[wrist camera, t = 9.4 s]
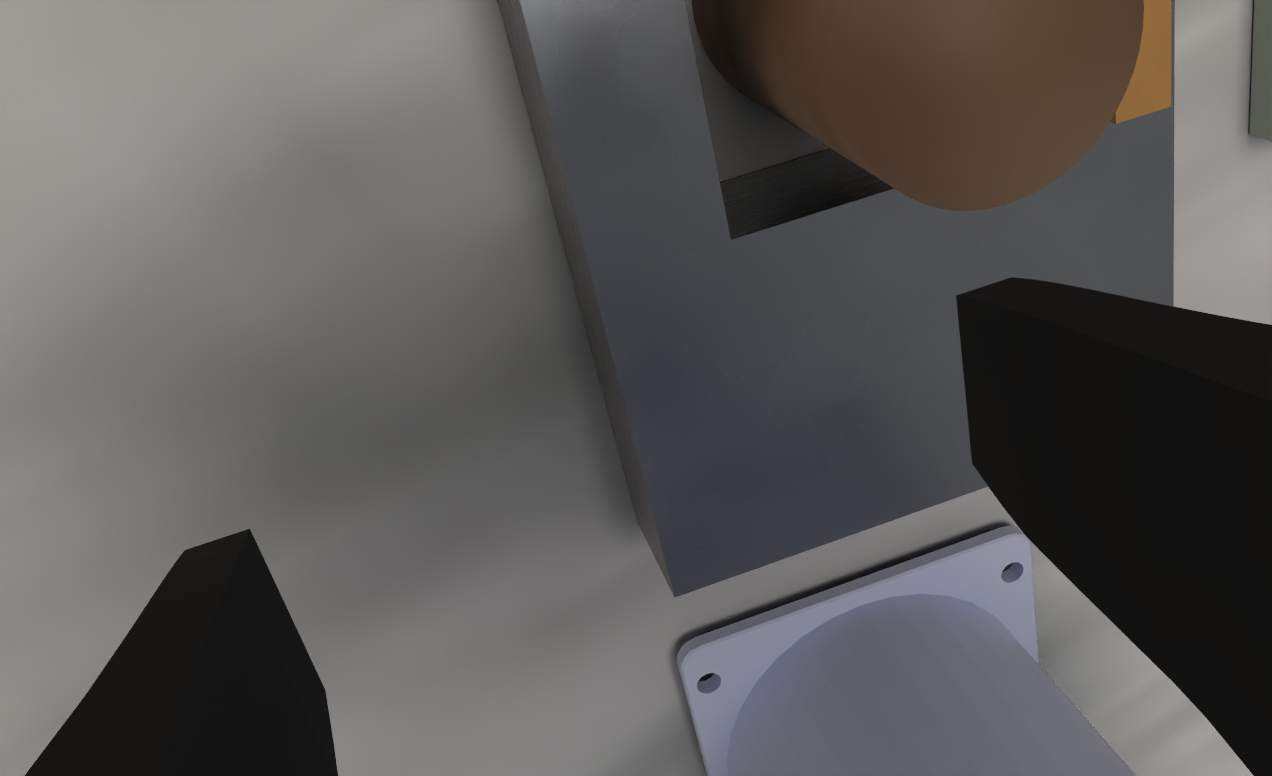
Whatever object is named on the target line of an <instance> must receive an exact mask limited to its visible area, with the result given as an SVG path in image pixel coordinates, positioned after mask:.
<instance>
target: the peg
mask: <svg viewBox="0 0 1272 776" xmlns="http://www.w3.org/2000/svg"><path fill="white" fill-rule="evenodd" d="M692 5H693V13H694V20H695V24H696V27H697V31H698V35H699V37H700V40H701V42H702V45H703V47H704V49H705V51H706V53H707V55H708V57H709V58H710V60H711V62H712V63H713V65H714V66H715V67H716V68H717V70H718V71H719V72H720V74H721V75H722V76H723V77H724V78H725V79H726V80H727V81H728V82H729V83H730V84H731V85H733V86H734V87H736V88H737V89H738V90H740V91H741V92H742V93H744V94H746V95H747V96H749V97H750V98H752V99H753V100H755V101H757V102H758V103H760V104H761V105H763V106H765V107H766V108H768V109H769V110H771V111H773V112H774V113H776V114H777V115H779V116H780V117H782V118H784V119H785V120H787V121H788V122H790V123H792V124H793V125H795V126H796V127H798V128H799V129H801V130H803V131H804V132H806V133H807V134H809V135H811V136H812V137H814V138H815V139H817V140H818V141H820V142H822V143H823V144H825V145H826V146H828V147H830V148H831V149H833V150H834V151H836V152H838V153H839V154H841V155H842V156H844V157H845V158H847V159H849V160H850V161H852V162H853V163H855V164H857V165H858V166H860V167H861V168H863V169H864V170H866V171H868V172H869V173H871V174H872V175H874V176H876V177H877V178H879V179H880V180H882V181H883V182H885V183H887V184H888V185H890V186H891V187H893V188H895V189H896V190H898V191H899V192H901V193H903V194H904V195H906V196H908V197H910V198H912V199H914V200H916V201H918V202H920V203H923V204H926V205H929V206H932V207H935V208H941V209H947V210H953V211H975V210H983V209H991V208H995V207H999V206H1002V205H1006V204H1010V203H1012V202H1015V201H1017V200H1020V199H1022V198H1025V197H1027V196H1029V195H1031V194H1033V193H1035V192H1036V191H1038V190H1040V189H1042V188H1044V187H1045V186H1047V185H1048V184H1050V183H1051V182H1053V181H1054V180H1056V179H1057V178H1058V177H1060V176H1061V175H1062V174H1064V173H1065V172H1066V171H1067V170H1068V169H1069V168H1071V167H1072V166H1073V165H1074V164H1075V163H1076V162H1077V161H1078V160H1079V159H1080V158H1081V157H1082V156H1083V155H1084V154H1085V153H1086V152H1087V151H1088V150H1089V149H1090V148H1091V147H1092V145H1093V144H1094V143H1095V141H1096V140H1097V139H1098V138H1099V136H1100V135H1101V134H1102V132H1103V131H1104V130H1105V128H1106V127H1107V125H1108V124H1109V122H1110V120H1111V119H1112V117H1113V116H1114V114H1115V112H1116V111H1117V109H1118V107H1119V105H1120V103H1121V101H1122V99H1123V97H1124V95H1125V93H1126V90H1127V88H1128V85H1129V82H1130V80H1131V77H1132V75H1133V72H1134V69H1135V65H1136V61H1137V57H1138V54H1139V50H1140V44H1141V38H1142V31H1143V17H1144V0H692Z"/></svg>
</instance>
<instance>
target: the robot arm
mask: <svg viewBox="0 0 1272 776" xmlns="http://www.w3.org/2000/svg"><path fill="white" fill-rule="evenodd" d="M956 301H957V311H958V322H959V332H960V343H961V353H962V364H963V374H964V385H965V395H966V406H967V416H968V427H969V437H970V448H971V458H972V464H973V466H974V467H975V468H976V470H977V471H978V473H979V474H980V475H981V477H982V478H983V480H984V481H985V482H986V484H987V485H988V487H989V488H990V489H991V491H992V492H993V493H994V495H995V496H996V498H997V499H998V500H999V502H1000V503H1001V505H1002V506H1003V507H1004V508H1005V510H1006V511H1007V512H1008V514H1009V515H1010V516H1011V517H1012V519H1013V520H1014V521H1015V523H1016V524H1017V525H1018V526H1019V528H1020V529H1021V530H1022V532H1023V533H1024V534H1025V535H1026V536H1027V537H1028V538H1029V539H1030V540H1031V541H1032V543H1033V544H1034V545H1035V546H1036V547H1037V548H1038V549H1039V550H1040V551H1041V552H1042V553H1043V554H1044V555H1045V556H1046V557H1047V558H1048V559H1049V560H1050V561H1051V562H1052V563H1053V564H1054V565H1055V566H1056V567H1057V568H1058V569H1059V570H1060V571H1061V572H1062V573H1063V574H1064V575H1065V576H1066V577H1067V578H1068V579H1069V580H1070V581H1071V582H1072V583H1073V584H1074V585H1075V586H1076V587H1077V588H1078V589H1079V590H1080V591H1081V592H1082V593H1083V594H1084V595H1085V596H1086V597H1087V598H1088V599H1089V600H1090V601H1091V602H1092V603H1093V604H1094V605H1095V606H1096V607H1097V608H1098V609H1099V610H1100V611H1101V612H1102V613H1103V614H1105V615H1106V616H1107V617H1108V618H1109V619H1110V620H1111V621H1112V622H1113V623H1114V624H1115V625H1116V626H1117V627H1118V628H1119V629H1120V630H1121V631H1122V632H1123V633H1124V634H1125V635H1126V636H1127V637H1128V638H1129V639H1130V640H1131V641H1132V642H1133V643H1134V644H1135V645H1136V646H1137V647H1138V648H1139V649H1140V650H1141V651H1142V652H1143V653H1144V654H1145V655H1146V656H1147V657H1148V658H1149V659H1150V660H1151V661H1152V662H1153V663H1154V664H1155V665H1156V666H1157V667H1158V668H1159V669H1160V670H1161V671H1162V672H1163V673H1164V674H1166V675H1167V676H1168V677H1169V678H1170V679H1171V680H1172V681H1173V682H1174V683H1175V685H1176V686H1177V687H1178V688H1179V689H1180V690H1181V691H1182V692H1183V693H1184V694H1185V695H1186V696H1187V697H1188V699H1189V700H1190V701H1191V702H1192V703H1193V704H1194V705H1195V706H1196V707H1197V708H1198V709H1199V710H1200V711H1201V712H1202V714H1203V715H1204V716H1205V717H1206V718H1207V719H1208V720H1209V722H1210V723H1211V724H1212V725H1213V726H1214V728H1215V729H1216V730H1217V731H1218V733H1219V734H1220V735H1221V736H1222V737H1223V739H1224V740H1225V741H1226V742H1227V744H1228V745H1229V746H1230V747H1231V748H1232V750H1233V751H1234V752H1235V753H1236V755H1237V756H1238V757H1239V758H1240V759H1241V761H1242V762H1243V763H1244V764H1245V766H1246V767H1247V768H1248V769H1249V770H1250V772H1251V773H1252V774H1253V775H1254V776H1272V325H1268V324H1262V323H1256V322H1251V321H1245V320H1240V319H1234V318H1229V317H1223V316H1218V315H1213V314H1208V313H1202V312H1197V311H1192V310H1187V309H1183V308H1178V307H1173V306H1168V305H1163V304H1158V303H1153V302H1149V301H1144V300H1139V299H1134V298H1129V297H1125V296H1120V295H1115V294H1110V293H1106V292H1101V291H1096V290H1091V289H1086V288H1081V287H1076V286H1070V285H1065V284H1060V283H1054V282H1048V281H1041V280H1034V279H1025V278H1014V277H1011V278H1008V279H1005V280H1002V281H998V282H995V283H992V284H989V285H986V286H983V287H980V288H977V289H974V290H971V291H968V292H965V293H962V294H959V295H956ZM1022 532H1021V531H1020V530H1019V529H1018V528H1016V527H1012V526H1005V527H1000V528H997V529H995V530H992V531H989V532H986V533H983V534H981V535H978V536H975V537H972V538H970V539H967V540H964V541H961V542H958V543H956V544H953V545H950V546H947V547H945V548H942V549H939V550H936V551H933V552H931V553H928V554H925V555H922V556H919V557H917V558H914V559H911V560H908V561H906V562H903V563H900V564H897V565H894V566H892V567H889V568H886V569H883V570H881V571H878V572H875V573H872V574H869V575H867V576H864V577H861V578H858V579H856V580H853V581H850V582H847V583H844V584H842V585H839V586H836V587H833V588H830V589H828V590H825V591H822V592H819V593H817V594H814V595H811V596H808V597H805V598H803V599H800V600H797V601H794V602H792V603H789V604H786V605H783V606H780V607H778V608H775V609H772V610H769V611H767V612H764V613H761V614H758V615H755V616H753V617H750V618H747V619H744V620H741V621H739V622H736V623H733V624H730V625H728V626H725V627H722V628H719V629H716V630H714V631H711V632H708V633H705V634H703V635H700V636H697V637H694V638H693V639H691V640H689V641H687V642H686V643H685V644H684V645H683V646H682V647H681V648H680V650H679V652H678V655H677V665H678V669H679V672H680V676H681V680H682V684H683V687H684V691H685V695H686V699H687V702H688V706H689V710H690V714H691V717H692V721H693V725H694V729H695V732H696V736H697V740H698V744H699V747H700V751H701V755H702V758H703V762H704V766H705V770H706V773H707V776H1136V775H1135V774H1134V773H1133V771H1132V770H1131V769H1130V768H1129V767H1128V766H1127V765H1126V763H1125V762H1124V761H1123V760H1122V759H1121V758H1120V757H1119V755H1118V754H1117V753H1116V752H1115V751H1114V750H1113V749H1112V747H1111V746H1110V745H1109V744H1108V743H1107V742H1106V741H1105V739H1104V738H1103V737H1102V736H1101V735H1100V734H1099V733H1098V731H1097V730H1096V729H1095V728H1094V727H1093V726H1092V725H1091V723H1090V722H1089V721H1088V720H1087V719H1086V718H1085V717H1084V715H1083V714H1082V713H1081V712H1080V711H1079V710H1078V709H1077V708H1076V706H1075V705H1074V704H1073V703H1072V702H1071V701H1070V700H1069V698H1068V697H1067V696H1066V695H1065V694H1064V693H1063V692H1062V690H1061V689H1060V688H1059V687H1058V686H1057V685H1056V684H1055V682H1054V681H1053V680H1052V679H1051V678H1050V677H1049V676H1048V674H1047V673H1046V672H1045V671H1044V670H1043V669H1042V668H1041V666H1040V665H1039V658H1038V643H1037V629H1036V614H1035V600H1034V585H1033V570H1032V556H1031V545H1030V542H1029V539H1028V538H1027V537H1026V536H1025V535H1024V534H1023V533H1022ZM1011 563H1013V564H1012V565H1011V567H1010V568H1009V569H1007V570H1006V571H1004V572H1002V571H1003V570H1004V568H1005V567H1006V566H1007V565H1009V564H1011ZM709 673H714V674H713V675H712V677H711V678H709V679H707V680H706V681H699V680H700V678H701V677H702V676H704V675H706V674H709ZM25 776H338V773H337V766H336V758H335V751H334V743H333V737H332V730H331V724H330V717H329V711H328V705H327V698H326V692H325V689H324V687H323V684H322V682H321V680H320V678H319V676H318V674H317V672H316V669H315V667H314V665H313V663H312V661H311V659H310V657H309V654H308V652H307V650H306V648H305V646H304V644H303V642H302V640H301V637H300V635H299V633H298V631H297V629H296V627H295V625H294V622H293V620H292V618H291V616H290V614H289V612H288V610H287V607H286V605H285V603H284V601H283V599H282V597H281V595H280V592H279V590H278V588H277V586H276V584H275V582H274V580H273V577H272V575H271V573H270V571H269V569H268V567H267V565H266V563H265V560H264V558H263V556H262V554H261V552H260V550H259V548H258V545H257V543H256V541H255V539H254V537H253V535H252V533H251V530H250V529H248V530H245V531H242V532H239V533H236V534H233V535H230V536H227V537H224V538H221V539H217V540H214V541H211V542H208V543H205V544H202V545H199V546H196V547H193V548H190V549H187V550H185V551H184V552H183V553H182V555H181V556H180V557H179V559H178V560H177V561H176V563H175V564H174V565H173V567H172V568H171V570H170V571H169V573H168V574H167V575H166V577H165V578H164V580H163V581H162V583H161V584H160V586H159V587H158V589H157V590H156V592H155V593H154V595H153V596H152V598H151V599H150V601H149V602H148V604H147V605H146V607H145V608H144V610H143V611H142V613H141V615H140V616H139V618H138V619H137V621H136V622H135V624H134V625H133V627H132V628H131V630H130V631H129V633H128V634H127V636H126V637H125V638H124V640H123V641H122V643H121V644H120V646H119V647H118V649H117V650H116V652H115V653H114V655H113V656H112V657H111V659H110V660H109V662H108V663H107V665H106V666H105V668H104V669H103V671H102V672H101V674H100V675H99V677H98V678H97V679H96V681H95V682H94V684H93V685H92V687H91V688H90V690H89V691H88V692H87V694H86V695H85V697H84V698H83V699H82V701H81V702H80V703H79V705H78V706H77V707H76V709H75V710H74V711H73V713H72V714H71V715H70V717H69V718H68V719H67V721H66V722H65V723H64V724H63V726H62V727H61V728H60V730H59V731H58V732H57V734H56V735H55V736H54V738H53V739H52V740H51V742H50V743H49V744H48V746H47V747H46V748H45V750H44V751H43V752H42V753H41V755H40V756H39V757H38V759H37V760H36V761H35V763H34V764H33V765H32V767H31V768H30V769H29V771H28V772H27V773H26V775H25Z"/></svg>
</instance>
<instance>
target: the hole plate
mask: <svg viewBox="0 0 1272 776" xmlns="http://www.w3.org/2000/svg"><path fill="white" fill-rule="evenodd" d="M498 3H499V7H500V10H501V14H502V18H503V22H504V25H505V29H506V33H507V36H508V40H509V44H510V48H511V51H512V55H513V59H514V63H515V66H516V70H517V74H518V77H519V81H520V85H521V89H522V92H523V96H524V100H525V104H526V107H527V111H528V115H529V118H530V122H531V126H532V130H533V133H534V137H535V141H536V145H537V148H538V152H539V156H540V159H541V163H542V167H543V171H544V174H545V178H546V182H547V186H548V189H549V193H550V197H551V200H552V204H553V208H554V212H555V215H556V219H557V223H558V227H559V230H560V234H561V238H562V241H563V245H564V249H565V253H566V256H567V260H568V264H569V268H570V271H571V275H572V279H573V283H574V286H575V290H576V294H577V297H578V301H579V305H580V309H581V312H582V316H583V320H584V324H585V327H586V331H587V335H588V338H589V342H590V346H591V350H592V353H593V357H594V361H595V365H596V368H597V372H598V376H599V379H600V383H601V387H602V391H603V394H604V398H605V402H606V406H607V409H608V413H609V417H610V420H611V424H612V428H613V432H614V435H615V439H616V443H617V447H618V450H619V454H620V458H621V461H622V465H623V469H624V473H625V476H626V480H627V484H628V488H629V491H630V495H631V499H632V502H633V506H634V510H635V514H636V517H637V521H638V524H639V526H640V528H641V530H642V532H643V534H644V536H645V538H646V540H647V542H648V544H649V546H650V548H651V551H652V553H653V555H654V557H655V559H656V561H657V563H658V565H659V567H660V569H661V571H662V573H663V575H664V577H665V579H666V581H667V583H668V585H669V587H670V589H671V591H672V593H673V595H674V597H677V596H680V595H683V594H685V593H688V592H691V591H694V590H697V589H700V588H702V587H705V586H708V585H711V584H714V583H717V582H719V581H722V580H725V579H728V578H731V577H733V576H736V575H739V574H742V573H745V572H748V571H750V570H753V569H756V568H759V567H762V566H765V565H767V564H770V563H773V562H776V561H779V560H781V559H784V558H787V557H790V556H793V555H796V554H798V553H801V552H804V551H807V550H810V549H813V548H815V547H818V546H821V545H824V544H827V543H829V542H832V541H835V540H838V539H841V538H844V537H846V536H849V535H852V534H855V533H858V532H861V531H863V530H866V529H869V528H872V527H875V526H877V525H880V524H883V523H886V522H889V521H892V520H894V519H897V518H900V517H903V516H906V515H909V514H911V513H914V512H917V511H920V510H923V509H925V508H928V507H931V506H934V505H937V504H940V503H942V502H945V501H948V500H951V499H954V498H957V497H959V496H962V495H965V494H968V493H971V492H974V491H976V490H979V489H982V488H985V487H988V485H987V484H986V482H985V481H984V480H983V478H982V477H981V475H980V474H979V473H978V471H977V470H976V468H975V467H974V466H973V464H972V458H971V448H970V437H969V427H968V416H967V406H966V395H965V385H964V374H963V364H962V353H961V343H960V332H959V322H958V311H957V301H956V295H959V294H962V293H965V292H968V291H971V290H974V289H977V288H980V287H983V286H986V285H989V284H992V283H995V282H998V281H1002V280H1005V279H1008V278H1011V277H1014V278H1025V279H1034V280H1041V281H1048V282H1054V283H1060V284H1065V285H1070V286H1076V287H1081V288H1086V289H1091V290H1096V291H1101V292H1106V293H1110V294H1115V295H1120V296H1125V297H1129V298H1134V299H1139V300H1144V301H1149V302H1153V303H1158V304H1163V305H1168V306H1173V246H1174V5H1175V0H1144V17H1143V31H1142V38H1141V44H1140V50H1139V54H1138V57H1137V61H1136V65H1135V69H1134V72H1133V75H1132V77H1131V80H1130V82H1129V85H1128V88H1127V90H1126V93H1125V95H1124V97H1123V99H1122V101H1121V103H1120V105H1119V107H1118V109H1117V111H1116V112H1115V114H1114V116H1113V117H1112V119H1111V120H1110V122H1109V124H1108V125H1107V127H1106V128H1105V130H1104V131H1103V132H1102V134H1101V135H1100V136H1099V138H1098V139H1097V140H1096V141H1095V143H1094V144H1093V145H1092V147H1091V148H1090V149H1089V150H1088V151H1087V152H1086V153H1085V154H1084V155H1083V156H1082V157H1081V158H1080V159H1079V160H1078V161H1077V162H1076V163H1075V164H1074V165H1073V166H1072V167H1071V168H1069V169H1068V170H1067V171H1066V172H1065V173H1064V174H1062V175H1061V176H1060V177H1058V178H1057V179H1056V180H1054V181H1053V182H1051V183H1050V184H1048V185H1047V186H1045V187H1044V188H1042V189H1040V190H1038V191H1036V192H1035V193H1033V194H1031V195H1029V196H1027V197H1025V198H1022V199H1020V200H1017V201H1015V202H1012V203H1010V204H1006V205H1002V206H999V207H995V208H991V209H983V210H975V211H953V210H947V209H941V208H935V207H932V206H929V205H926V204H923V203H920V202H918V201H916V200H914V199H912V198H910V197H908V196H906V195H904V194H903V193H901V192H899V191H898V190H896V189H895V188H893V187H891V186H890V185H888V184H887V183H885V182H883V181H882V180H880V179H879V178H877V177H876V176H874V175H872V174H871V173H869V172H868V171H866V170H864V169H863V168H861V167H860V166H858V165H857V164H855V163H853V162H852V161H850V160H849V159H847V158H845V157H844V156H842V155H841V154H839V153H838V152H836V151H834V150H833V149H828V150H824V151H821V152H818V153H815V154H811V155H808V156H805V157H802V158H798V159H795V160H792V161H789V162H785V163H782V164H779V165H776V166H772V167H769V168H766V169H763V170H759V171H756V172H753V173H750V174H746V175H743V176H740V177H737V178H733V179H730V180H727V181H724V182H721V183H720V181H719V176H718V171H717V165H716V160H715V155H714V150H713V145H712V139H711V134H710V129H709V124H708V119H707V114H706V108H705V103H704V98H703V93H702V88H701V83H700V77H699V72H698V67H697V62H696V57H695V51H694V46H693V41H692V36H691V31H690V26H689V20H688V15H687V10H686V5H685V0H498Z"/></svg>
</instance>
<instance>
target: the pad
mask: <svg viewBox="0 0 1272 776" xmlns="http://www.w3.org/2000/svg"><path fill="white" fill-rule="evenodd" d="M1250 134H1251V135H1254V136H1257V137H1260V138H1263V139H1266V140H1269V141H1271V142H1272V0H1254V24H1253V52H1252V79H1251V107H1250Z"/></svg>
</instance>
